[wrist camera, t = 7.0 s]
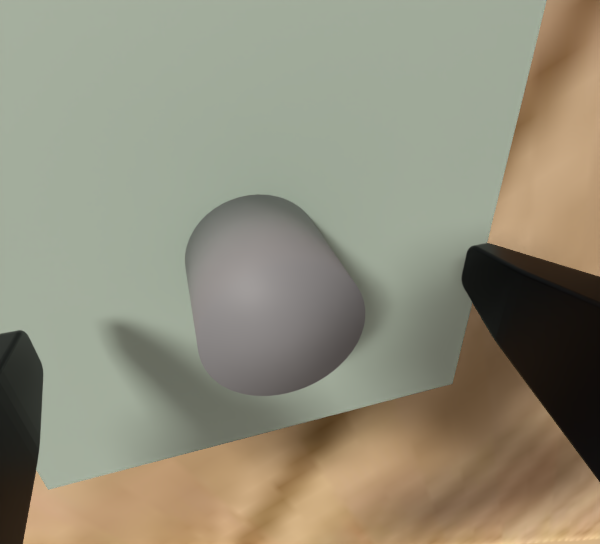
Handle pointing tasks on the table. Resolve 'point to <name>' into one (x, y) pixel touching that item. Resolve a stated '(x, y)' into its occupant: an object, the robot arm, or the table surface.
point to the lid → (244, 208)
